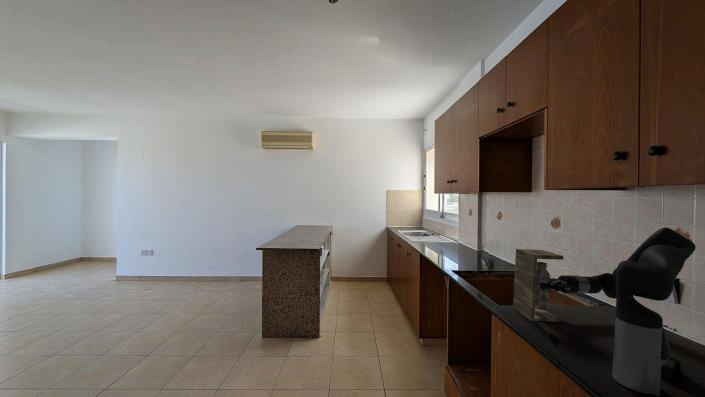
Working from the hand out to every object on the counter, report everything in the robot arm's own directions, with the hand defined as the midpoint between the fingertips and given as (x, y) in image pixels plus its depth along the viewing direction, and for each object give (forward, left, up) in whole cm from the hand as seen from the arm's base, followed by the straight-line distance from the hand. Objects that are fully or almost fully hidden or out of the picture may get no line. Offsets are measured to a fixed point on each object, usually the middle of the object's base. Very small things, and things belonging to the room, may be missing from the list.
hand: (535, 283), depth 127 cm
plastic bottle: (-2, -2, -11) cm, 11 cm away
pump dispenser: (-33, +17, -14) cm, 40 cm away
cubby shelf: (0, 0, -14) cm, 14 cm away
